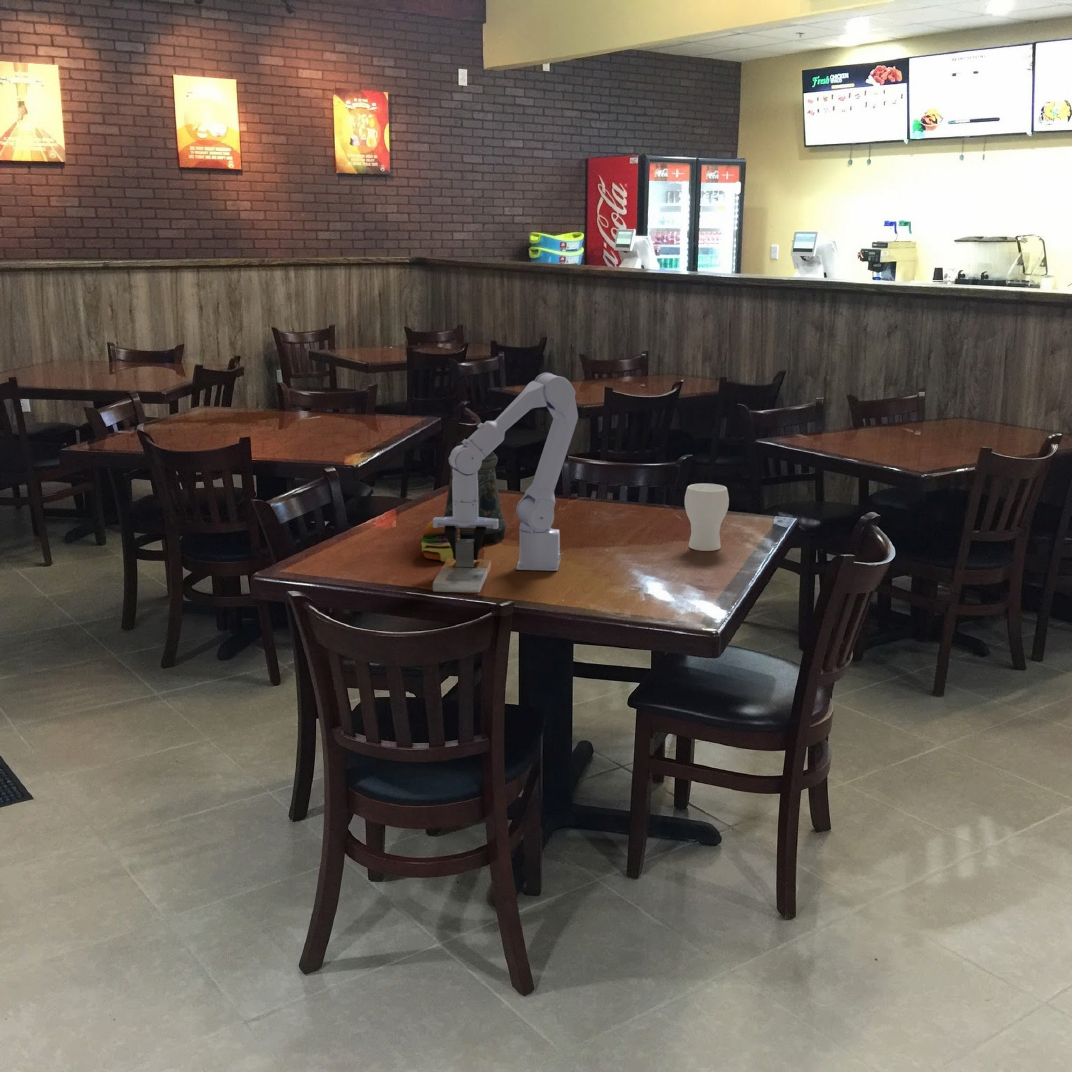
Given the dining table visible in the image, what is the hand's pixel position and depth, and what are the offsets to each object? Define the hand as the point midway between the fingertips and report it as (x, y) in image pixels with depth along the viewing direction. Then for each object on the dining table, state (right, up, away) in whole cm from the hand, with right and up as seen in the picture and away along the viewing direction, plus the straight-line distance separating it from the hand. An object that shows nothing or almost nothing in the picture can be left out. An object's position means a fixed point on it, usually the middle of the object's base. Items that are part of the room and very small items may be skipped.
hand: (466, 558), depth 254 cm
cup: (+57, +2, +23) cm, 62 cm away
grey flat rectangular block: (0, -4, -4) cm, 6 cm away
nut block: (0, -2, 0) cm, 2 cm away
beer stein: (-1, +5, +33) cm, 33 cm away
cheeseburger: (-7, 0, +14) cm, 15 cm away
